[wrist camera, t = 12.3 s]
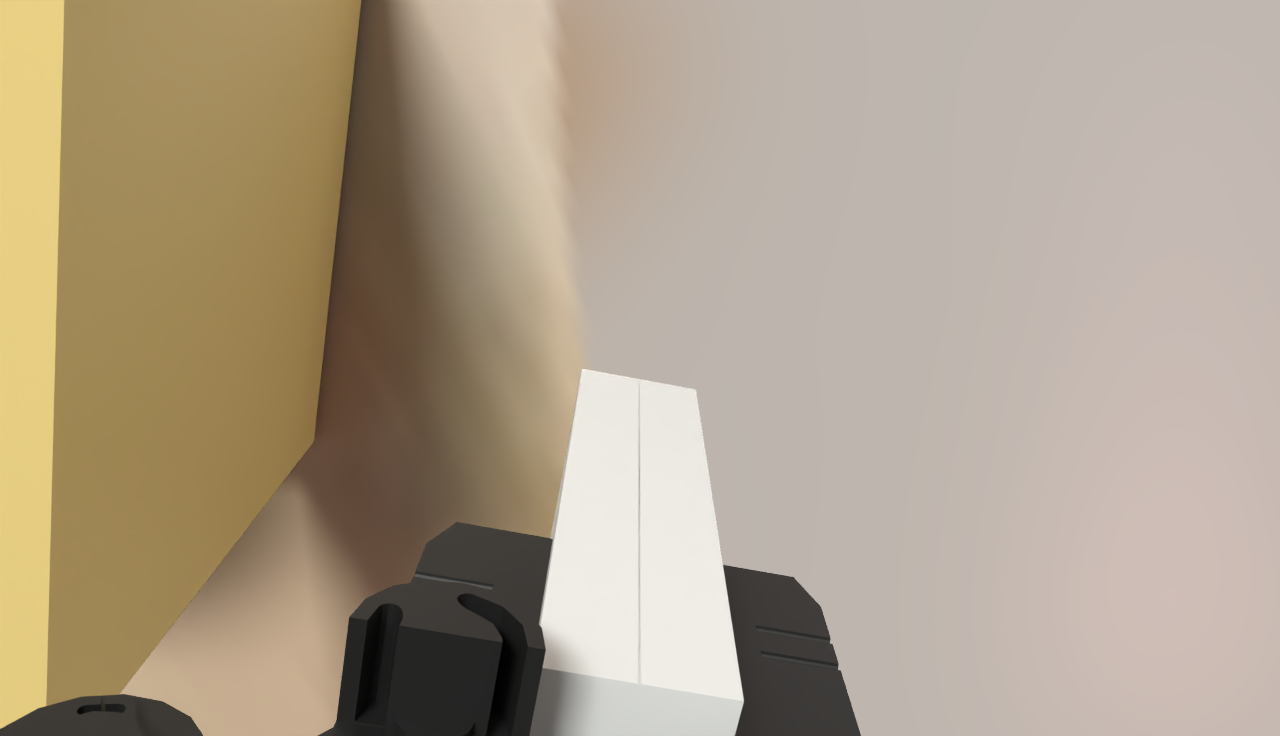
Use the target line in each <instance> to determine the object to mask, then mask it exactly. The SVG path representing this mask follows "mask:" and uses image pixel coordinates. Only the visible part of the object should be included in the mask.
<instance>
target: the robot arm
mask: <svg viewBox="0 0 1280 736" xmlns="http://www.w3.org/2000/svg"><path fill="white" fill-rule="evenodd" d="M0 736H203V735H202V733H201V732H200V730H199V729H198V727H197V726H196V724H195V723H194V721H193V720H192V718H191V717H190V716H188V715H186V714H184V713H182V712H181V711H179V710H177V709H175V708H173V707H171V706H170V705H168V704H166V703H164V702H162V701H157V700H152V699H147V698H141V697H136V696H131V695H125V694H121V695H102V696H83V697H78V698H74V699H71V700H67V701H63V702H60V703H56V704H52V705H49V706H45V707H41V708H38V709H36V710H34V711H32V712H30V713H29V714H27V715H25V716H23V717H21V718H19V719H18V720H16V721H14V722H12V723H10V724H8V725H6V726H5V727H3V728H1V729H0ZM318 736H861V735H860V731H859V728H858V725H857V722H856V719H855V715H854V712H853V709H852V706H851V702H850V699H849V696H848V693H847V690H846V686H845V683H844V680H843V677H842V673H841V671H840V670H838V661H837V657H836V654H835V651H834V648H833V645H832V644H830V635H829V632H828V629H827V625H826V622H825V619H824V616H823V612H822V609H821V607H820V605H819V604H818V603H817V602H816V601H815V600H814V599H813V598H812V597H811V596H810V595H809V594H808V593H807V592H806V590H804V588H803V587H802V586H801V585H800V584H799V583H798V582H797V581H796V580H795V578H794V577H789V576H784V575H778V574H772V573H766V572H760V571H755V570H749V569H743V568H737V567H732V566H726V565H723V563H722V556H721V550H720V543H719V537H718V530H717V524H716V518H715V511H714V504H713V498H712V492H711V485H710V479H709V473H708V466H707V459H706V452H705V446H704V440H703V433H702V427H701V420H700V414H699V407H698V401H697V395H696V390H695V389H690V388H684V387H679V386H674V385H668V384H662V383H657V382H652V381H646V380H641V379H635V378H630V377H625V376H619V375H613V374H608V373H603V372H598V371H592V370H587V369H582V372H581V377H580V383H579V388H578V393H577V399H576V404H575V409H574V415H573V420H572V425H571V431H570V436H569V441H568V447H567V452H566V457H565V463H564V468H563V473H562V479H561V484H560V489H559V495H558V500H557V505H556V511H555V516H554V521H553V527H552V532H551V537H550V538H544V537H539V536H533V535H527V534H521V533H516V532H510V531H504V530H498V529H493V528H487V527H481V526H475V525H470V524H464V523H458V522H457V523H455V524H454V525H452V526H451V527H450V528H448V529H447V530H445V531H444V532H442V533H441V534H439V535H438V536H436V537H435V538H433V539H432V540H431V541H429V542H428V543H427V544H426V547H425V549H424V552H423V554H422V557H421V559H420V562H419V564H418V567H417V569H416V572H415V577H413V579H412V582H411V583H410V584H403V585H397V586H393V587H390V588H388V589H386V590H384V591H381V592H379V593H377V594H375V595H373V596H370V597H368V598H366V599H365V600H364V601H363V603H362V604H361V605H360V606H359V607H358V608H357V609H356V610H355V611H354V613H353V614H352V615H351V616H350V617H349V624H348V632H347V640H346V648H345V657H344V665H343V673H342V681H341V689H340V697H339V705H338V713H337V720H336V723H335V725H334V727H333V728H331V729H329V730H328V731H326V732H324V733H322V734H320V735H318Z"/></svg>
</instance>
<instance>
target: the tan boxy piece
mask: <svg viewBox="0 0 1280 736" xmlns="http://www.w3.org/2000/svg"><path fill="white" fill-rule="evenodd" d="M360 8H361V0H0V729H1V728H3V727H5V726H6V725H8V724H10V723H12V722H14V721H16V720H18V719H19V718H21V717H23V716H25V715H27V714H29V713H30V712H32V711H34V710H36V709H38V708H41V707H45V706H49V705H52V704H56V703H60V702H63V701H67V700H71V699H74V698H78V697H83V696H102V695H119V694H120V693H121V691H122V690H123V689H124V687H125V686H126V685H127V684H128V682H129V681H130V680H131V678H132V677H133V676H134V674H135V673H136V672H137V671H138V669H139V668H140V667H141V665H142V664H143V663H144V662H145V660H146V659H147V658H148V656H149V655H150V654H151V652H152V651H153V650H154V649H155V647H156V646H157V645H158V643H159V642H160V641H161V639H162V638H163V637H164V636H165V634H166V633H167V632H168V630H169V629H170V628H171V626H172V625H173V624H174V623H175V621H176V620H177V619H178V617H179V616H180V615H181V613H182V612H183V611H184V610H185V608H186V607H187V606H188V604H189V603H190V602H191V600H192V599H193V598H194V597H195V595H196V594H197V593H198V591H199V590H200V589H201V588H202V586H203V585H204V584H205V582H206V581H207V580H208V578H209V577H210V576H211V575H212V573H213V572H214V571H215V569H216V568H217V567H218V565H219V564H220V563H221V562H222V560H223V559H224V558H225V556H226V555H227V554H228V552H229V551H230V550H231V549H232V547H233V546H234V545H235V543H236V542H237V541H238V539H239V538H240V537H241V536H242V534H243V533H244V532H245V530H246V529H247V528H248V526H249V525H250V524H251V523H252V521H253V520H254V519H255V517H256V516H257V515H258V514H259V512H260V511H261V510H262V508H263V507H264V506H265V504H266V503H267V502H268V501H269V499H270V498H271V497H272V495H273V494H274V493H275V491H276V490H277V489H278V488H279V486H280V485H281V484H282V482H283V481H284V480H285V478H286V477H287V476H288V475H289V473H290V472H291V471H292V469H293V468H294V467H295V465H296V464H297V463H298V462H299V460H300V459H301V458H302V456H303V455H304V454H305V452H306V451H307V450H308V449H309V447H310V446H311V445H312V443H313V442H314V436H315V427H316V418H317V408H318V399H319V390H320V380H321V371H322V362H323V353H324V343H325V334H326V325H327V315H328V306H329V297H330V287H331V278H332V269H333V260H334V250H335V241H336V232H337V222H338V213H339V204H340V194H341V185H342V176H343V167H344V157H345V148H346V139H347V129H348V120H349V111H350V101H351V92H352V83H353V74H354V64H355V55H356V46H357V36H358V27H359V18H360Z"/></svg>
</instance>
